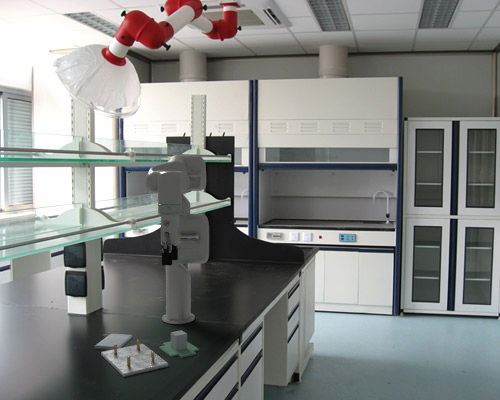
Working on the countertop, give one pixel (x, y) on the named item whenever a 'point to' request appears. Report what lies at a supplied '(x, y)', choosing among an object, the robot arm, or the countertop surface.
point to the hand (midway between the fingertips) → (170, 262)
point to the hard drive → (113, 341)
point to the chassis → (133, 359)
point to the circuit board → (179, 353)
